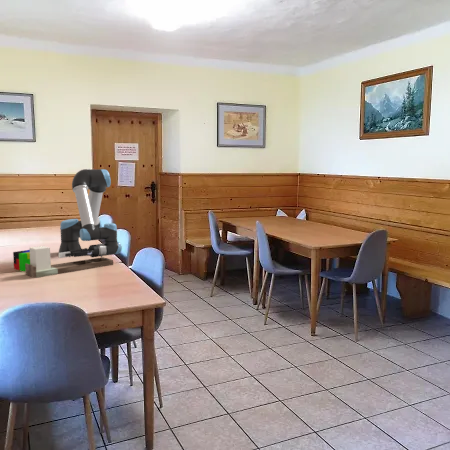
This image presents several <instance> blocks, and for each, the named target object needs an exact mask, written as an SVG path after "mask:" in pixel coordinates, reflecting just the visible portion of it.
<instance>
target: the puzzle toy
mask: <svg viewBox="0 0 450 450" xmlns="http://www.w3.org/2000/svg"><path fill="white" fill-rule="evenodd" d="M12 255H13V270H17V271H20V272H26V270H25V264H30V249H27V250H19V251H18V250H17V251H13V252H12Z"/></svg>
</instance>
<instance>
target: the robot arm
mask: <svg viewBox="0 0 450 450" xmlns="http://www.w3.org/2000/svg"><path fill="white" fill-rule="evenodd" d="M111 181H112V180H111V175H110V172H109V171H108V170H107V169H103V168H102V169H101V168H99V169H97V168H96V169H90V168H88V169H87V168H86V169H81V170H79V171H77V172H76V174H74V176H73V178H72V182H71V189H72V191H73V193H74V194H75V195H74V196H75V199H76V205H77V209H78V215H79V219H78V218H71V219H65V220H64V219H63V220H62V221H61V222H60V226H59V227H60V245H59V249H58V258H59V259H63V258H71V257H73V258H76V257H90V258H101V257H104V256H112V255H114V256H115V255H118V254H120V253H121V252H122V250H123V246H122V243H121V242H119V241H118V227H117V224H116V223H112V222H111V223H109V222H108V223H105V224H104V225H103V224H102V221H101V220H100V217H99V215H100V211H101V210H100V209H101V204H102V199H103V194H104V193H105V192H106V191H107V188H110V187H111V184H112V182H111ZM88 191H89V192H88ZM80 240H81V241H83V242H90V241H100V240H101V241H102V240H104V243H98V244H97V243H96V244H90V245H89V246H88V248H87V247H85V248H82V246H81V244H80Z"/></svg>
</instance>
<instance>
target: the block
mask: <svg viewBox="0 0 450 450" xmlns="http://www.w3.org/2000/svg"><path fill="white" fill-rule="evenodd" d="M29 250H30V265H32V266H35V267H36V271H42V270H48V269H51V265H52V262H51V261H52V260H51V247H49V246H45V245H42V246H41V245H40V246H33V247H29Z"/></svg>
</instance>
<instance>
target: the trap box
mask: <svg viewBox="0 0 450 450" xmlns="http://www.w3.org/2000/svg"><path fill="white" fill-rule="evenodd" d="M113 265H114V259H112V258H107V257H104V256H102V257H101V256H100V257H93V258H88V259H83V260H76V261H69V262H63V263H56V264H51V269H48V270H42V271H36V267H35V266H32V265H30V264H25V270H26V271H25V275H26V276H29V277H31V278H33V279H37V278H43V277H49V276H55V275H61V274H66V273H73V272H77V271H85V270H90V269H95V268H96V269H97V268H103V267H107V266H113Z"/></svg>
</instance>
